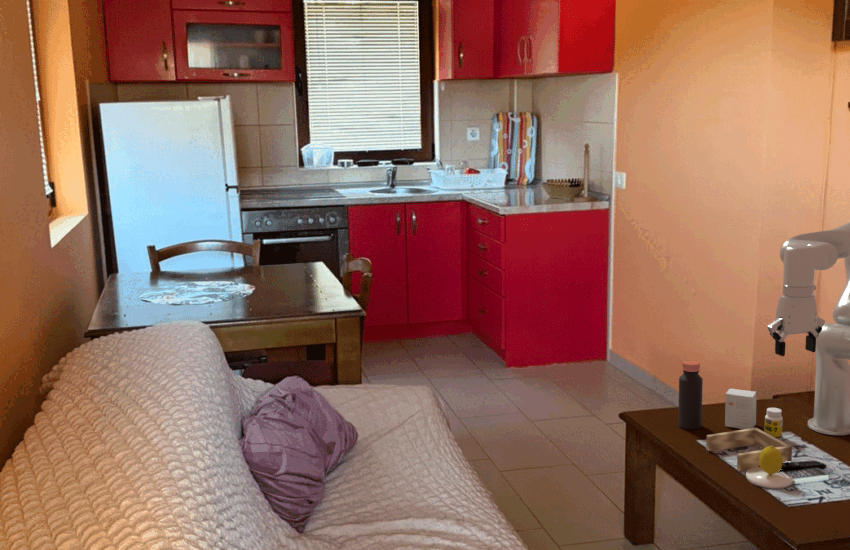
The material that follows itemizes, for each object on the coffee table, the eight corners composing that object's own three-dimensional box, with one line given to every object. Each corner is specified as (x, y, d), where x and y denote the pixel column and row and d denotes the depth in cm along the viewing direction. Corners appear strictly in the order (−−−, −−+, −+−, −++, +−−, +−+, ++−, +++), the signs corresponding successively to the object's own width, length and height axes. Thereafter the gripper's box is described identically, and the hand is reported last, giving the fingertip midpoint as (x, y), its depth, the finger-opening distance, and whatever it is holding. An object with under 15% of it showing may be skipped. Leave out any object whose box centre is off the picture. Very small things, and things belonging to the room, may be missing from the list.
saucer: (773, 467, 216) (773, 464, 216) (802, 484, 206) (802, 481, 206) (737, 473, 214) (737, 470, 213) (764, 491, 203) (764, 487, 203)
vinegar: (705, 428, 244) (707, 364, 241) (684, 431, 244) (685, 366, 240) (694, 421, 251) (696, 358, 247) (674, 423, 250) (675, 360, 246)
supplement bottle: (761, 437, 236) (762, 410, 235) (767, 432, 240) (768, 405, 238) (778, 441, 233) (779, 413, 231) (784, 436, 236) (785, 409, 235)
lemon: (784, 480, 207) (785, 450, 205) (760, 479, 208) (762, 449, 206) (779, 471, 212) (780, 442, 210) (756, 470, 213) (757, 441, 212)
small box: (756, 424, 246) (757, 391, 244) (752, 431, 242) (753, 397, 240) (728, 420, 250) (729, 387, 249) (724, 426, 246) (725, 393, 244)
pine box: (755, 442, 233) (756, 427, 232) (791, 462, 219) (792, 447, 218) (706, 450, 229) (706, 435, 228) (739, 471, 215) (740, 455, 214)
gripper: (815, 285, 224) (812, 346, 227) (761, 291, 219) (758, 352, 222) (835, 290, 216) (832, 353, 220) (779, 297, 212) (777, 360, 215)
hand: (795, 352), depth 221 cm, fingers open, 9 cm apart
